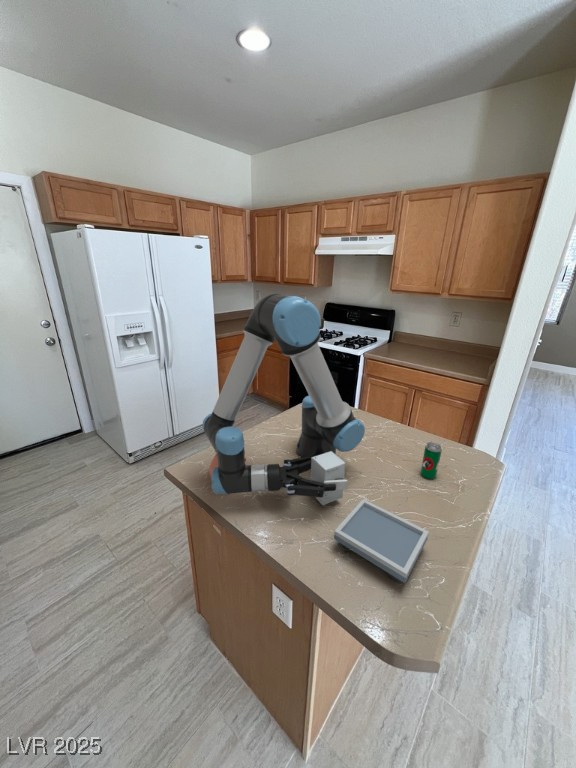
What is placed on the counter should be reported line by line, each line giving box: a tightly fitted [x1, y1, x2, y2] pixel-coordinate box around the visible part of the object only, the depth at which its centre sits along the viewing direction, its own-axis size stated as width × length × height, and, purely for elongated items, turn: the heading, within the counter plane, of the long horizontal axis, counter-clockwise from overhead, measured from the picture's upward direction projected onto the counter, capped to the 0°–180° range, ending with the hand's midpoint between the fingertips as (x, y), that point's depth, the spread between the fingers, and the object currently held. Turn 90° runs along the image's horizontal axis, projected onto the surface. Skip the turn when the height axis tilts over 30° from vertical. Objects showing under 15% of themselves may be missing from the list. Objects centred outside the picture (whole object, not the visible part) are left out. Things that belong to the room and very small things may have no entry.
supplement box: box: [310, 451, 346, 506], centre depth 92 cm, size 7×7×13 cm
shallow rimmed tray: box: [333, 498, 430, 584], centre depth 78 cm, size 18×15×6 cm
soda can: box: [419, 441, 443, 480], centre depth 105 cm, size 5×5×12 cm
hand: (342, 473), depth 92 cm, fingers closed on supplement box, 9 cm apart
